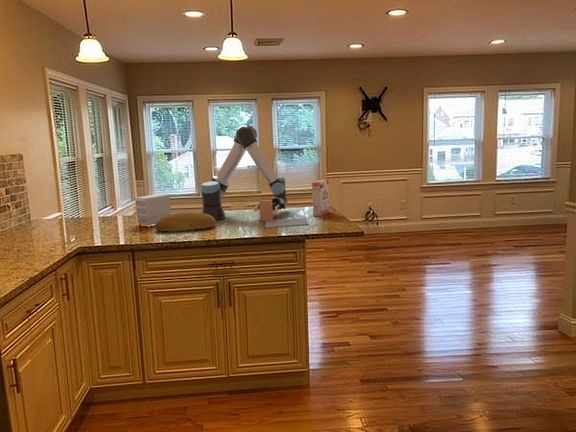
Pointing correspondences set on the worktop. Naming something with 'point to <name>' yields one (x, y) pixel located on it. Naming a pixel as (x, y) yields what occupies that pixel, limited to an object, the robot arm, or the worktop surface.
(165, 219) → the bread
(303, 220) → the mat
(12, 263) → the worktop surface
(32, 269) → the worktop surface
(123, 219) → the worktop surface
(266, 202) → the deck
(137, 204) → the supplement box
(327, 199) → the cracker box
